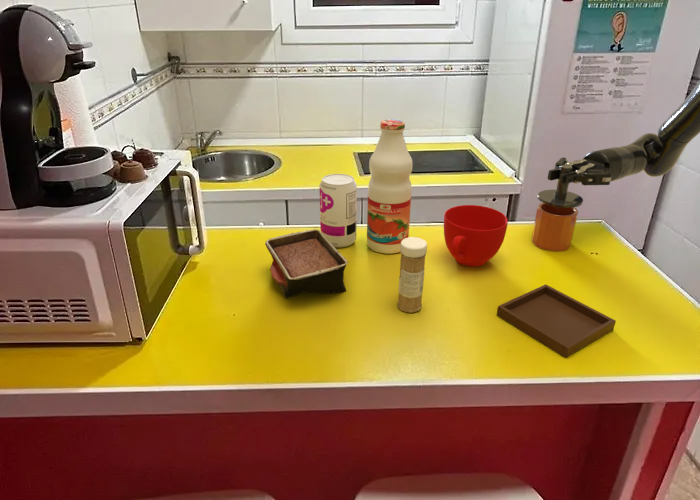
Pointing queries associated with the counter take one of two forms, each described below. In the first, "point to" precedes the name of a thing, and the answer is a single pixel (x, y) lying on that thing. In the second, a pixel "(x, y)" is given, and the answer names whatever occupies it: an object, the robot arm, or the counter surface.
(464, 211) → the ceramic cup
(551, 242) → the jar
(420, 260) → the sprinkles bottle
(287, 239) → the baking dish
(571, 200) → the grey peg stand
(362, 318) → the counter surface
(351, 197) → the supplement can
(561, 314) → the tray
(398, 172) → the fruit juice
